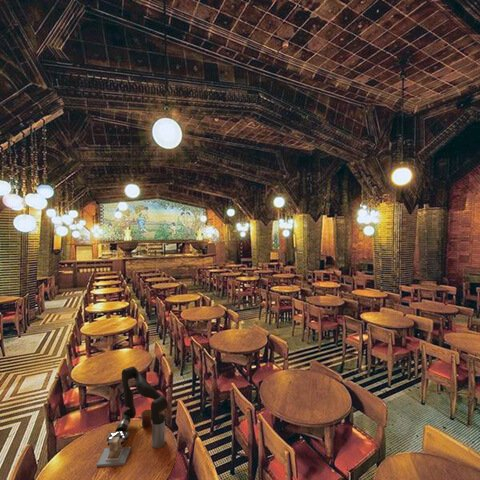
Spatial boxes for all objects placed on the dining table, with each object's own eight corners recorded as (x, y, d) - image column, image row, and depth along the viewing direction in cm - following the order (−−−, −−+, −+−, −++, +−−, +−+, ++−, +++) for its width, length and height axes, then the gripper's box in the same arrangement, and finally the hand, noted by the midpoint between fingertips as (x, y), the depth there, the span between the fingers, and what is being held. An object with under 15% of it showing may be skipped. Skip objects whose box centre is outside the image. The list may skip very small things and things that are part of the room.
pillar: (119, 452, 192) (119, 436, 192) (116, 457, 187) (117, 442, 187) (112, 452, 192) (112, 437, 192) (109, 458, 187) (109, 442, 187)
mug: (142, 430, 216) (142, 417, 216) (140, 423, 223) (140, 411, 223) (157, 424, 223) (157, 412, 222) (154, 418, 230) (154, 406, 230)
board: (130, 448, 197) (130, 445, 197) (124, 464, 183) (124, 461, 183) (105, 450, 196) (105, 447, 196) (96, 466, 182) (96, 463, 182)
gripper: (112, 423, 205) (104, 439, 189) (132, 422, 207) (125, 438, 191) (112, 433, 205) (104, 450, 189) (132, 432, 207) (125, 448, 191)
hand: (114, 444), depth 190 cm, fingers open, 8 cm apart
